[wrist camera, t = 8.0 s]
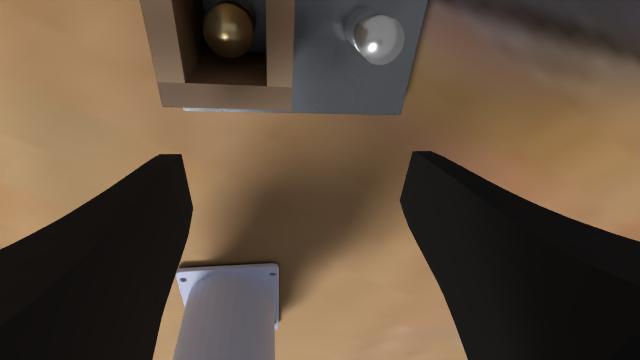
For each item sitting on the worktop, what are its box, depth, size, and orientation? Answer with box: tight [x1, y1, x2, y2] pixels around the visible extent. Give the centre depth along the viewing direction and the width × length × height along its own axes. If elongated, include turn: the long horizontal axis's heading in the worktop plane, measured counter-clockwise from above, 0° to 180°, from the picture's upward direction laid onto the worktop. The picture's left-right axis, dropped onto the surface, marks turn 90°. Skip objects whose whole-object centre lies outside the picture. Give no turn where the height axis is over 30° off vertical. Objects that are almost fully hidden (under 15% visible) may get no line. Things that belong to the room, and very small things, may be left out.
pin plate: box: [183, 0, 428, 115], centre depth 14 cm, size 9×12×4 cm
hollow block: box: [140, 0, 295, 111], centre depth 12 cm, size 5×5×5 cm
